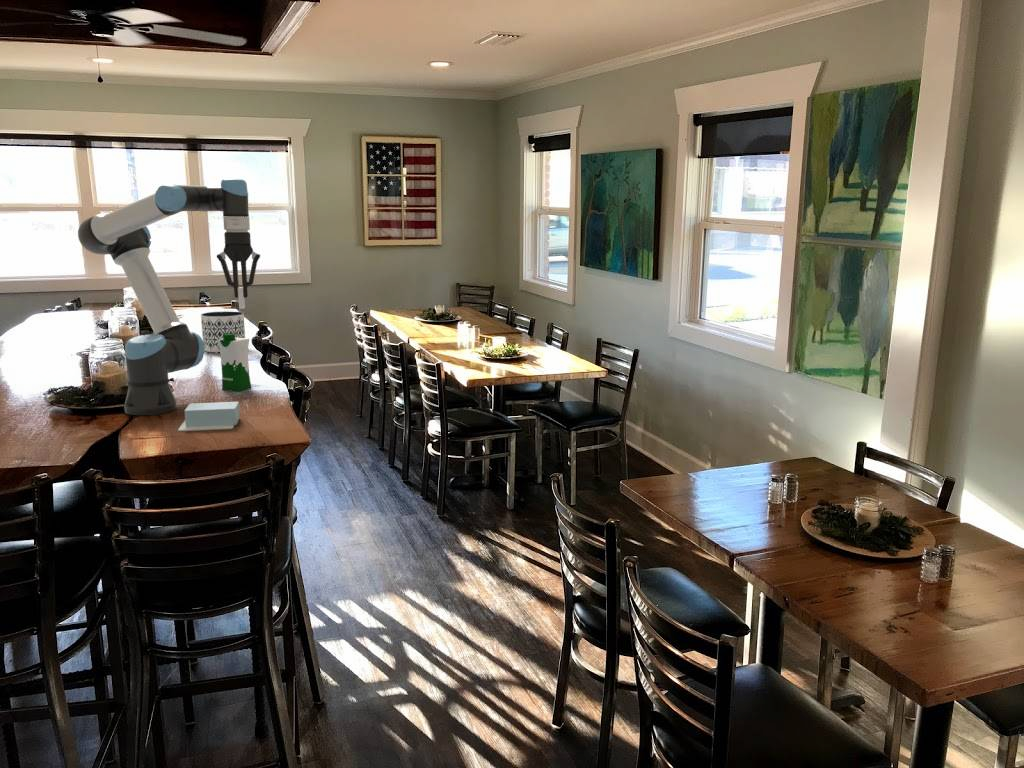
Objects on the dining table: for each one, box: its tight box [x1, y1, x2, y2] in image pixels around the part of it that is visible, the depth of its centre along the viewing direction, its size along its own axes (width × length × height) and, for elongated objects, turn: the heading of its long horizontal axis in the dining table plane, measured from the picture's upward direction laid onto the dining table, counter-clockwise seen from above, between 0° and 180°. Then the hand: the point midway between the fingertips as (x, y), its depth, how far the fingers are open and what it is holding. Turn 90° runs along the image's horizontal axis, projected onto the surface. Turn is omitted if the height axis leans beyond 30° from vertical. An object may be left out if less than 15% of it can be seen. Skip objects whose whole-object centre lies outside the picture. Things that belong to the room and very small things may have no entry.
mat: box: [177, 420, 235, 432], centre depth 240 cm, size 15×14×1 cm
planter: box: [200, 310, 246, 354], centre depth 363 cm, size 18×18×16 cm
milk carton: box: [217, 333, 252, 393], centre depth 284 cm, size 9×9×20 cm
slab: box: [184, 401, 241, 427], centre depth 239 cm, size 5×9×14 cm
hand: (242, 308), depth 251 cm, fingers closed
